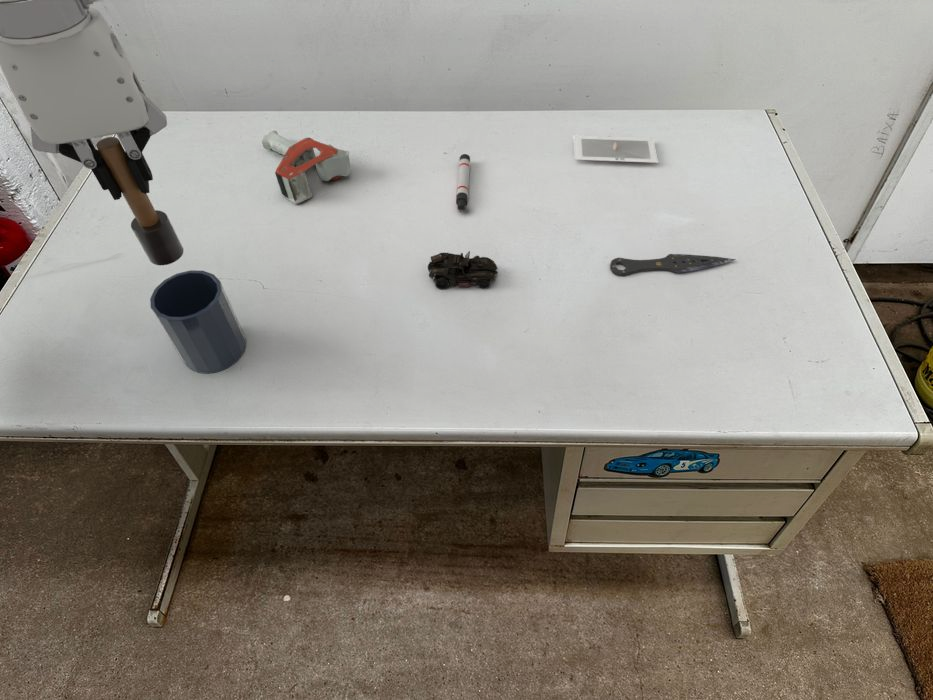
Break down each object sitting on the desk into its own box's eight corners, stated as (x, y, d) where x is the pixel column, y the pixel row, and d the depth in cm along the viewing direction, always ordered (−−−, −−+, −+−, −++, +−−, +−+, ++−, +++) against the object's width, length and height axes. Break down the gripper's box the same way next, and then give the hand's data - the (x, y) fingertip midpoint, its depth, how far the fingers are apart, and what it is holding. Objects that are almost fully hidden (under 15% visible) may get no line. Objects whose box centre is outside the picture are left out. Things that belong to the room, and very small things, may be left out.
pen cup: (185, 381, 82) (151, 327, 73) (180, 335, 87) (148, 280, 78) (250, 363, 83) (224, 308, 75) (242, 319, 88) (217, 263, 80)
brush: (149, 269, 71) (86, 157, 60) (148, 247, 74) (86, 136, 62) (185, 260, 72) (128, 149, 61) (182, 239, 75) (128, 128, 63)
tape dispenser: (270, 148, 118) (248, 208, 105) (261, 123, 114) (238, 181, 101) (360, 142, 118) (350, 201, 104) (354, 116, 114) (343, 173, 100)
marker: (459, 163, 112) (459, 153, 111) (470, 163, 112) (470, 153, 111) (455, 216, 103) (454, 206, 101) (466, 216, 103) (466, 207, 101)
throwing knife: (607, 259, 96) (607, 256, 95) (731, 251, 97) (732, 248, 96) (613, 278, 93) (614, 275, 92) (741, 270, 94) (742, 267, 93)
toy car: (430, 261, 96) (429, 239, 92) (506, 264, 95) (508, 243, 92) (425, 289, 92) (424, 267, 89) (505, 293, 91) (506, 272, 88)
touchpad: (572, 140, 117) (574, 130, 115) (651, 143, 116) (654, 133, 114) (573, 164, 112) (575, 154, 110) (656, 167, 111) (659, 157, 109)
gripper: (134, -23, 55) (204, 154, 70) (-63, 5, 52) (54, 186, 66) (136, 10, 51) (211, 192, 65) (-79, 43, 47) (50, 228, 62)
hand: (131, 188), depth 66 cm, fingers closed on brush, 2 cm apart
